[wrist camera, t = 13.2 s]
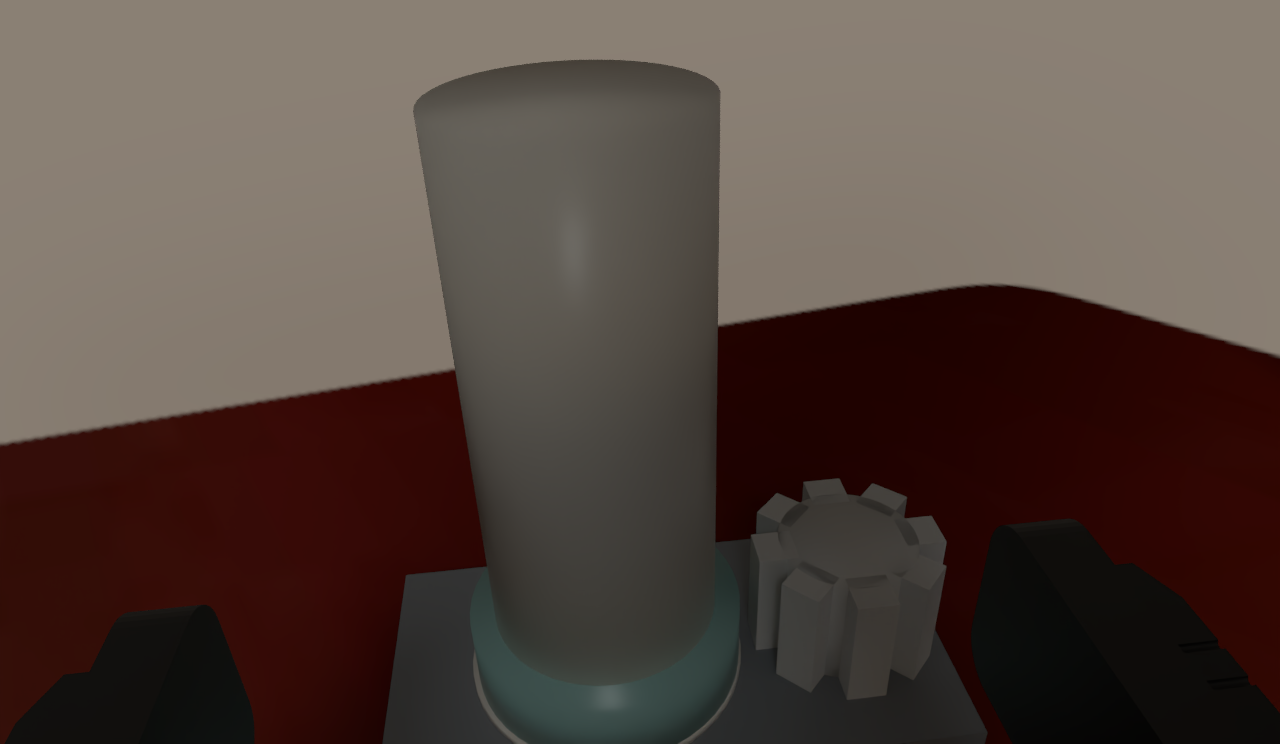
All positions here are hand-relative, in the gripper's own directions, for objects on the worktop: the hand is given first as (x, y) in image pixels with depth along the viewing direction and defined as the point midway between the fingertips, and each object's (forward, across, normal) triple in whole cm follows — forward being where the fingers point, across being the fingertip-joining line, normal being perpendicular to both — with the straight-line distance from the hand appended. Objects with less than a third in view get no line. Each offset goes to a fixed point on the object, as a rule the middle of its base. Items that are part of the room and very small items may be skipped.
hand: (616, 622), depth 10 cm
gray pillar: (+7, 0, +8) cm, 10 cm away
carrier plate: (+7, -1, +9) cm, 11 cm away
